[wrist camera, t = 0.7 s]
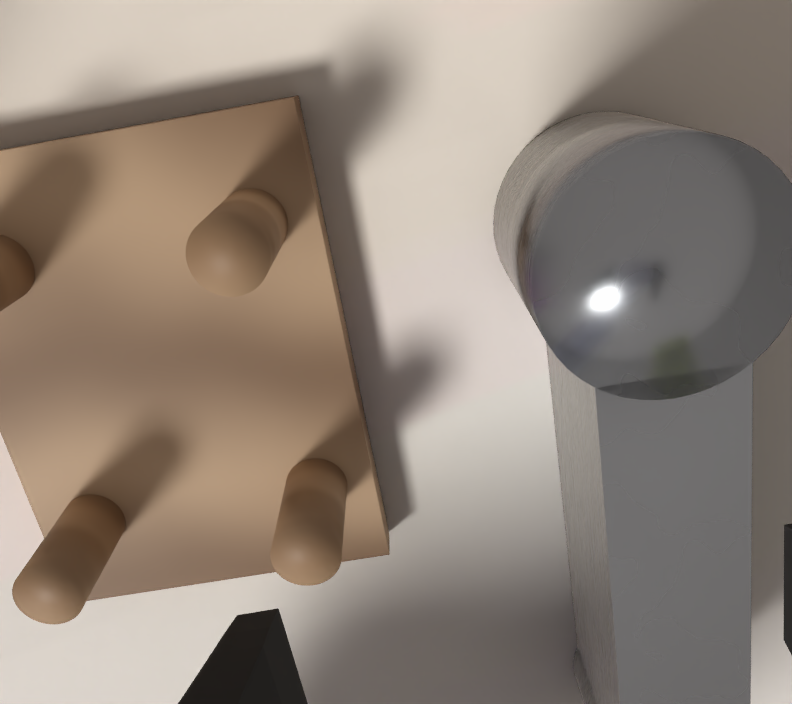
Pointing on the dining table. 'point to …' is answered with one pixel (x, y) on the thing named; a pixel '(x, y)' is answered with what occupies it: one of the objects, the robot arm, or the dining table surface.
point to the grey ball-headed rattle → (652, 385)
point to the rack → (178, 361)
